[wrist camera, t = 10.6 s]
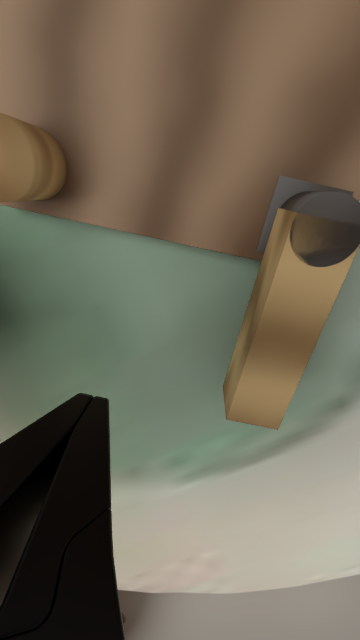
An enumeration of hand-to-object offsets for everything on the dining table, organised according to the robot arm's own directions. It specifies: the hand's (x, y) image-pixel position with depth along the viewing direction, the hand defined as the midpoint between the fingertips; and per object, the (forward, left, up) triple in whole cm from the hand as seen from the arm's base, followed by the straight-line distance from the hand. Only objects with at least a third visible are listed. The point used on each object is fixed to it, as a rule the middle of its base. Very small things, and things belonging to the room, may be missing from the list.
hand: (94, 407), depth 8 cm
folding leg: (+8, +1, -11) cm, 13 cm away
